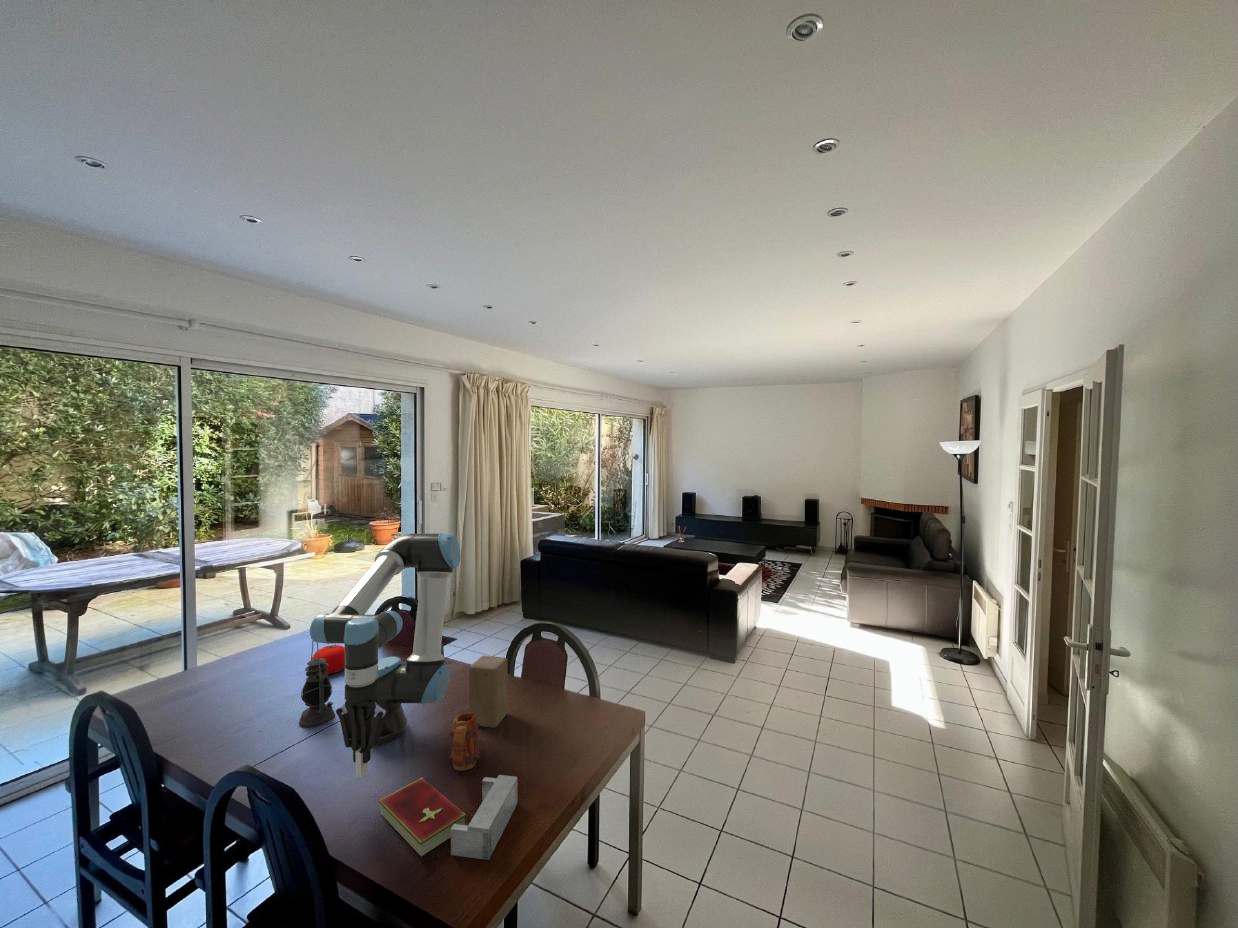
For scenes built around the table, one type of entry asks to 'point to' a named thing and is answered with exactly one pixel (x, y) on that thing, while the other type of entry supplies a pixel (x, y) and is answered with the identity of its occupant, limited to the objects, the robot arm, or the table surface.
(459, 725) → the mug
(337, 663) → the tomato
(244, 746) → the table surface
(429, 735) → the table surface
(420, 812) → the hardcover book
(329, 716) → the lantern
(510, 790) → the end cap
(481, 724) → the wooden block
